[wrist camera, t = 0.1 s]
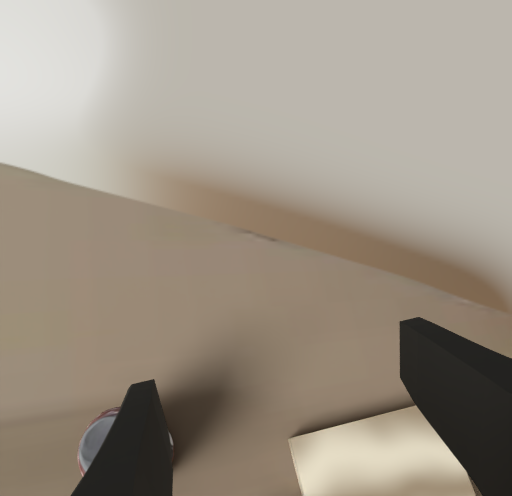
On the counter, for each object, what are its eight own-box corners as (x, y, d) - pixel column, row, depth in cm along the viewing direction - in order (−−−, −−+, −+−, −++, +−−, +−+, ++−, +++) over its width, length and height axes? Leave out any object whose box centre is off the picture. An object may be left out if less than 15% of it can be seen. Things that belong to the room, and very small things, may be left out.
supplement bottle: (177, 416, 43) (157, 400, 32) (173, 489, 40) (151, 496, 30) (111, 417, 42) (71, 401, 32) (103, 491, 40) (56, 499, 30)
